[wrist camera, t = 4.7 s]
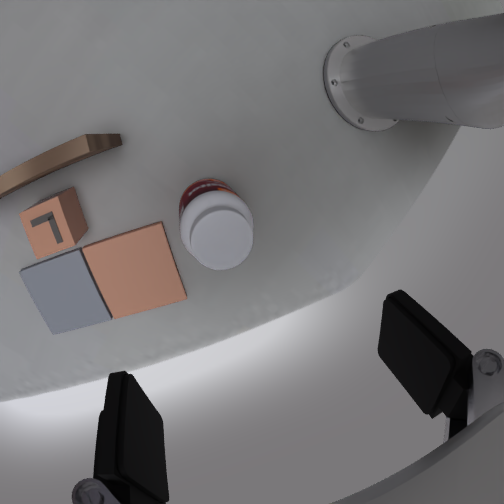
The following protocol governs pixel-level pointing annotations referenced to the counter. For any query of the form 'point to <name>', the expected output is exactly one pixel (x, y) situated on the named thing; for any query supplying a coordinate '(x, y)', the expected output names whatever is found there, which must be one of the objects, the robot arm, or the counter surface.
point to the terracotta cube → (54, 223)
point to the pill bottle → (215, 224)
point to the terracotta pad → (135, 270)
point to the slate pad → (66, 292)
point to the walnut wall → (56, 160)
